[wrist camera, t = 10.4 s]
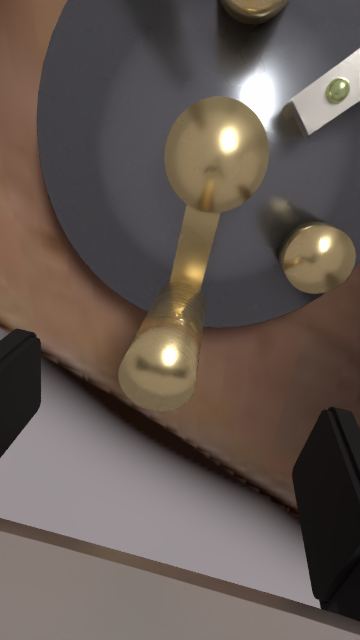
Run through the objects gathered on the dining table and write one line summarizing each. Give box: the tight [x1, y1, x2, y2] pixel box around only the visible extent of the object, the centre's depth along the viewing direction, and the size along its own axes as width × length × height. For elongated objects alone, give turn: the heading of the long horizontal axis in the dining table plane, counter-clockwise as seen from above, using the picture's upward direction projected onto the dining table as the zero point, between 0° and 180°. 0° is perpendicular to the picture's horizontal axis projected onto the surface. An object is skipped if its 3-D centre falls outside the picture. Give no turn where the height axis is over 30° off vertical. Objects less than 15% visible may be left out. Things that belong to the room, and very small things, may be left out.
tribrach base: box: [37, 0, 360, 328], centre depth 18 cm, size 20×20×4 cm
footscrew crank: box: [118, 96, 269, 412], centre depth 15 cm, size 12×5×9 cm, turn 168°
